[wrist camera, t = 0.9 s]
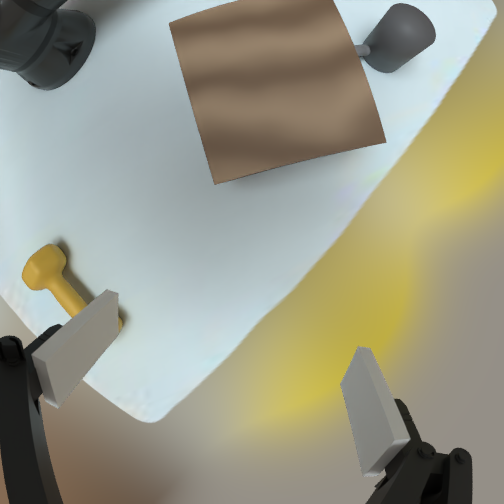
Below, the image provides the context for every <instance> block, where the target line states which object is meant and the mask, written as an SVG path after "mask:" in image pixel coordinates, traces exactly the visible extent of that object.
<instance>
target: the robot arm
mask: <svg viewBox="0 0 504 504" xmlns="http://www.w3.org/2000/svg"><path fill="white" fill-rule="evenodd" d="M66 1H67V0H0V69H3V70H8V71H12V72H16V73H17V74H19V75H20V76H21V77H22V78H23V79H24V80H26V81H27V82H28V83H29V84H30V85H31V86H33V87H35V88H38V89H43V90H52V89H55V88H57V87H59V86H61V85H63V84H64V83H66V82H67V81H68V80H69V79H70V78H72V77H73V76H74V75H75V74H76V72H77V71H78V70H79V69H80V68H81V66H82V65H83V63H84V62H85V60H86V59H87V57H88V55H89V53H90V51H91V48H92V46H93V43H94V39H95V25H94V22H93V20H92V19H91V18H90V17H89V16H87V15H86V14H84V13H83V12H80V11H77V10H65V9H58V8H59V7H60V6H61V5H63V4H64V3H65V2H66ZM118 335H119V332H118V293H116V292H113V291H110V290H105V291H104V292H103V293H102V294H101V295H99V296H98V297H97V298H96V299H95V300H93V301H92V302H91V303H90V304H89V305H87V306H86V307H85V308H84V309H83V310H81V311H80V312H79V313H78V314H77V315H75V316H74V317H73V318H72V319H71V320H70V321H68V322H67V323H66V324H65V325H64V326H62V325H60V324H57V325H54V326H52V327H49V328H48V329H47V330H46V331H45V332H43V334H41V335H40V336H39V337H38V338H36V339H35V340H34V341H33V342H32V343H31V344H29V345H28V346H27V347H26V348H25V349H24V350H23V346H22V342H21V340H20V339H19V338H17V337H15V336H4V337H2V338H0V449H1V458H2V466H3V472H4V479H5V484H6V490H7V494H8V499H9V504H63V501H62V498H61V495H60V492H59V489H58V486H57V482H56V479H55V475H54V472H53V468H52V464H51V460H50V456H49V452H48V447H47V442H46V437H45V432H44V426H43V420H42V414H41V407H40V402H39V396H40V395H41V394H42V393H43V395H44V398H45V401H46V402H47V403H49V404H51V405H53V406H54V407H56V408H58V409H59V408H60V406H61V405H62V404H63V403H64V401H65V400H66V399H67V398H68V396H69V395H70V394H71V392H72V391H73V390H74V389H75V387H76V386H77V385H78V384H79V382H80V381H81V380H82V379H83V377H84V376H85V375H86V374H87V372H88V371H89V370H90V369H91V367H92V366H93V365H94V364H95V363H96V361H97V360H98V359H99V358H100V356H101V355H102V354H103V353H104V352H105V350H106V349H107V348H108V347H109V346H110V344H111V343H112V342H113V341H114V340H115V338H116V337H117V336H118ZM340 385H341V389H342V392H343V396H344V400H345V403H346V408H347V411H348V415H349V420H350V424H351V428H352V431H353V436H354V440H355V444H356V449H357V453H358V457H359V462H360V467H361V471H362V476H363V477H364V476H378V475H379V474H380V473H381V471H383V469H384V468H385V472H386V476H385V477H384V478H383V479H382V480H381V481H380V482H379V483H378V484H377V485H375V487H377V488H376V489H375V491H374V492H373V494H372V496H371V497H370V498H369V500H368V501H367V503H366V504H472V458H471V455H470V454H469V452H467V451H466V450H464V449H462V448H455V449H453V450H452V451H451V453H450V454H449V455H448V454H442V453H436V450H435V449H434V447H433V446H431V445H430V444H429V443H426V442H422V440H421V438H420V435H419V433H418V431H417V429H416V426H415V424H414V422H413V421H412V417H411V415H409V414H410V413H409V411H408V409H407V406H406V405H405V404H404V403H403V402H402V401H401V400H400V399H394V398H393V396H392V394H391V392H390V389H389V387H388V385H387V383H386V381H385V378H384V376H383V374H382V372H381V370H380V368H379V366H378V363H377V361H376V359H375V357H374V355H373V353H372V351H371V349H370V348H366V347H358V348H357V350H356V352H355V354H354V356H353V359H352V361H351V363H350V365H349V367H348V369H347V371H346V373H345V376H344V377H343V380H342V382H341V384H340Z"/></svg>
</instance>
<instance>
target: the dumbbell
mask: <svg viewBox="0 0 504 504" xmlns="http://www.w3.org/2000/svg"><path fill="white" fill-rule="evenodd" d="M65 265H66V256H65V255H64V253H63V252H62V251H61V249H60V248H59V247H58V246H56V245H53V244H48V245H45V246H44V247H42V248H41V249H39V250H38V251H37V252H36V253H34V254H33V255H32V256H31V257H30V258H29V259H28V261H27V263H26V265H25V267H24V269H23V272H22V279H23V281H24V282H25V284H26V285H27V286H28V287H29V288H30V289H32V290H43V289H45V288H47V289H49V290H50V291H51V292H52V294H53V295H54V297H55V298H56V299H57V301H58V302H59V303H60V305H61V306H62V307H63V308H64V309H65V310H66V312H67V313H68V314H69V315H70V316H71V317H72V318H73V317H74V316H75V315H77V314H78V313H79V312H80V311H81V310H83V309H84V308H85V307H86V306H87V304H86V302H85V301H84V300H83V299H82V298H81V296H80V295H79V294H78V293H77V292H76V291H75V289H74V288H73V287H72V286H71V285H70V284H69V283H68V282H67V281H66V280H65V279H64V277H63V275H62V271H63V269H64V267H65ZM122 325H123V322H122V320H121V319H120V318H119V317H118V332H120V330H121V329H122Z"/></svg>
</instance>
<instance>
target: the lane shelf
mask: <svg viewBox="0 0 504 504" xmlns="http://www.w3.org/2000/svg"><path fill="white" fill-rule="evenodd" d="M169 26H170V30H171V34H172V38H173V41H174V45H175V49H176V52H177V56H178V59H179V63H180V67H181V70H182V74H183V77H184V81H185V85H186V88H187V92H188V95H189V99H190V102H191V106H192V109H193V113H194V116H195V120H196V123H197V127H198V130H199V133H200V137H201V140H202V144H203V147H204V151H205V154H206V157H207V161H208V164H209V168H210V171H211V174H212V178H213V181H214V184H215V185H216V184H219V183H223V182H227V181H231V180H234V179H238V178H241V177H245V176H248V175H252V174H255V173H259V172H262V171H266V170H270V169H274V168H277V167H281V166H285V165H289V164H293V163H297V162H301V161H305V160H309V159H313V158H317V157H322V156H326V155H331V154H335V153H340V152H344V151H349V150H353V149H358V148H362V147H367V146H372V145H377V144H382V143H386V139H385V135H384V131H383V128H382V124H381V121H380V117H379V114H378V111H377V107H376V104H375V101H374V98H373V95H372V92H371V89H370V86H369V83H368V80H367V78H366V75H365V72H364V70H363V67H362V64H361V62H360V59H359V57H358V54H357V52H356V49H355V47H354V44H353V42H352V40H351V37H350V35H349V33H348V31H347V28H346V26H345V24H344V22H343V20H342V18H341V15H340V13H339V11H338V9H337V7H336V5H335V3H334V1H333V0H238V1H234V2H231V3H227V4H223V5H220V6H217V7H213V8H210V9H207V10H204V11H201V12H198V13H195V14H192V15H189V16H186V17H183V18H181V19H178V20H175V21H173V22H170V23H169Z"/></svg>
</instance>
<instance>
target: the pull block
mask: <svg viewBox="0 0 504 504" xmlns="http://www.w3.org/2000/svg"><path fill="white" fill-rule="evenodd" d="M435 38H436V33H435V29H434V26H433V24H432V22H431V21H430V19H429V18H428V17H427V16H426V15H425V14H424V13H423V12H422V11H420V10H419V9H417V8H416V7H414V6H411V5H409V4H404V3H398V4H394V5H393V6H391V7H390V9H389V10H388V11H387V13H386V14H385V15H384V16H383V18H382V19H381V20H380V22H379V23H378V24H377V26H376V27H375V28H374V29H373V31H372V32H371V33H370V35H369V36H368V37H367V39H366V40H365V41H364V43H363V45H354V47H355V49H356V52H357V54H358V56H363V57H364V59H365V61H366V62H367V63H368V64H369V65H370V66H371V67H372V68H374V69H375V70H377V71H380V72H383V73H391V72H394V71H395V70H397V69H398V68H400V67H401V66H402V65H404V64H405V63H406V62H408V61H409V60H410V59H412V58H413V57H415V56H416V55H417V54H419V53H420V52H422V51H423V50H424V49H426V48H427V47H429V46H430V45H432V44H433V43H434V41H435Z"/></svg>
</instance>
